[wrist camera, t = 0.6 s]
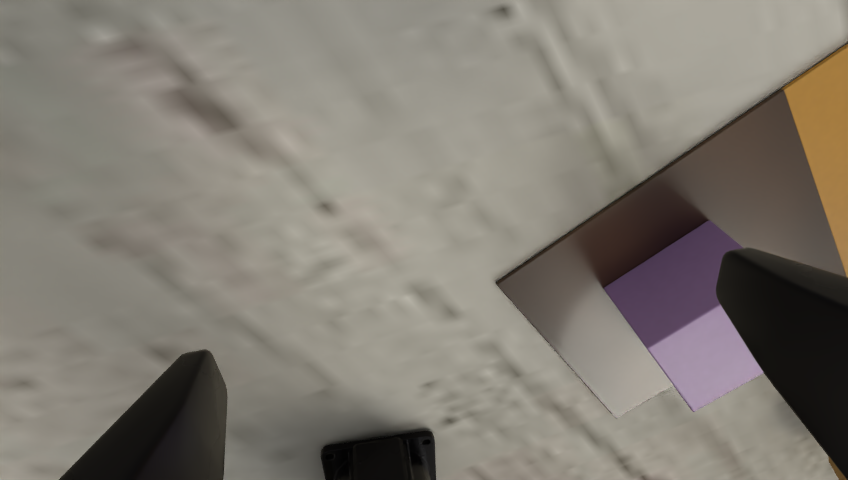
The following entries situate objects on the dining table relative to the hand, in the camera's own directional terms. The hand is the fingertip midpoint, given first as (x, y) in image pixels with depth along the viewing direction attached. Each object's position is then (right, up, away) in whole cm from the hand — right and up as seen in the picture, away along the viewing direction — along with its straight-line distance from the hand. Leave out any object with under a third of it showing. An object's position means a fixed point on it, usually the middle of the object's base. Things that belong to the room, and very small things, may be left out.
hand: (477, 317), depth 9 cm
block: (+12, -1, +19) cm, 23 cm away
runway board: (+13, -1, +19) cm, 23 cm away
